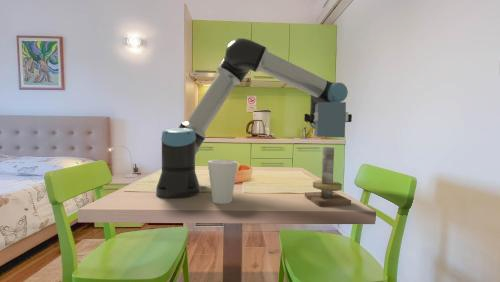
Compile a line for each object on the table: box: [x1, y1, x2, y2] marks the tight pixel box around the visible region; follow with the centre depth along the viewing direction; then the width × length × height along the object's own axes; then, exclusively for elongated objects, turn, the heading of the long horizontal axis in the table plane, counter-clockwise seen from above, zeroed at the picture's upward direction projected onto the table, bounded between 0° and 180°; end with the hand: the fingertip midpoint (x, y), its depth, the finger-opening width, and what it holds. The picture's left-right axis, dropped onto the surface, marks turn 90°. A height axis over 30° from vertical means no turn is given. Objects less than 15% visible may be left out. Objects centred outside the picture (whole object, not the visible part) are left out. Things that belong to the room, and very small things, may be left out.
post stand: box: [304, 146, 352, 207], centre depth 80 cm, size 11×11×18 cm
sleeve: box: [314, 101, 347, 138], centre depth 80 cm, size 8×8×11 cm
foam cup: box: [207, 159, 238, 205], centre depth 78 cm, size 10×9×13 cm
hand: (331, 116), depth 75 cm, fingers closed on sleeve, 8 cm apart
